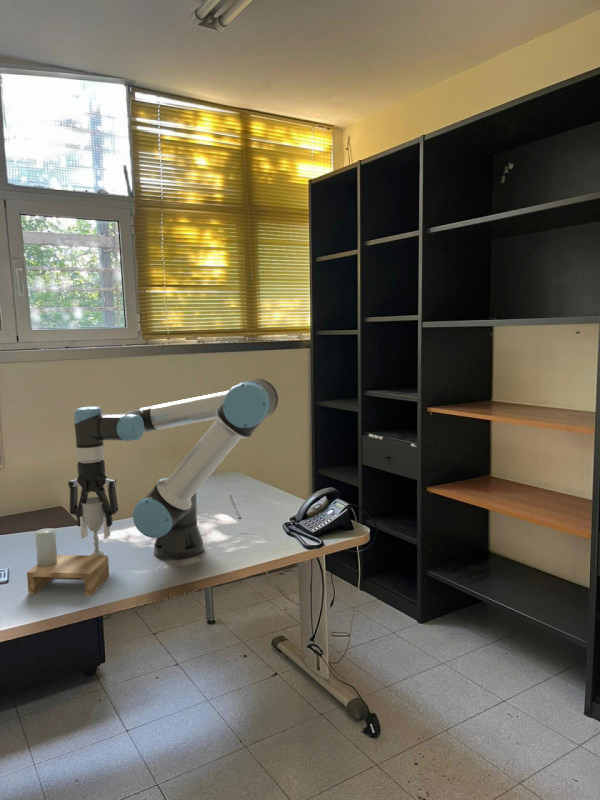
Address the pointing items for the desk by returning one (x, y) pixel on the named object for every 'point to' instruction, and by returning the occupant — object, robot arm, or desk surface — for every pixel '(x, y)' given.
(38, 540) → the white glossy rounded part
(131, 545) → the desk surface
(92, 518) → the chalice
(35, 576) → the shelf
